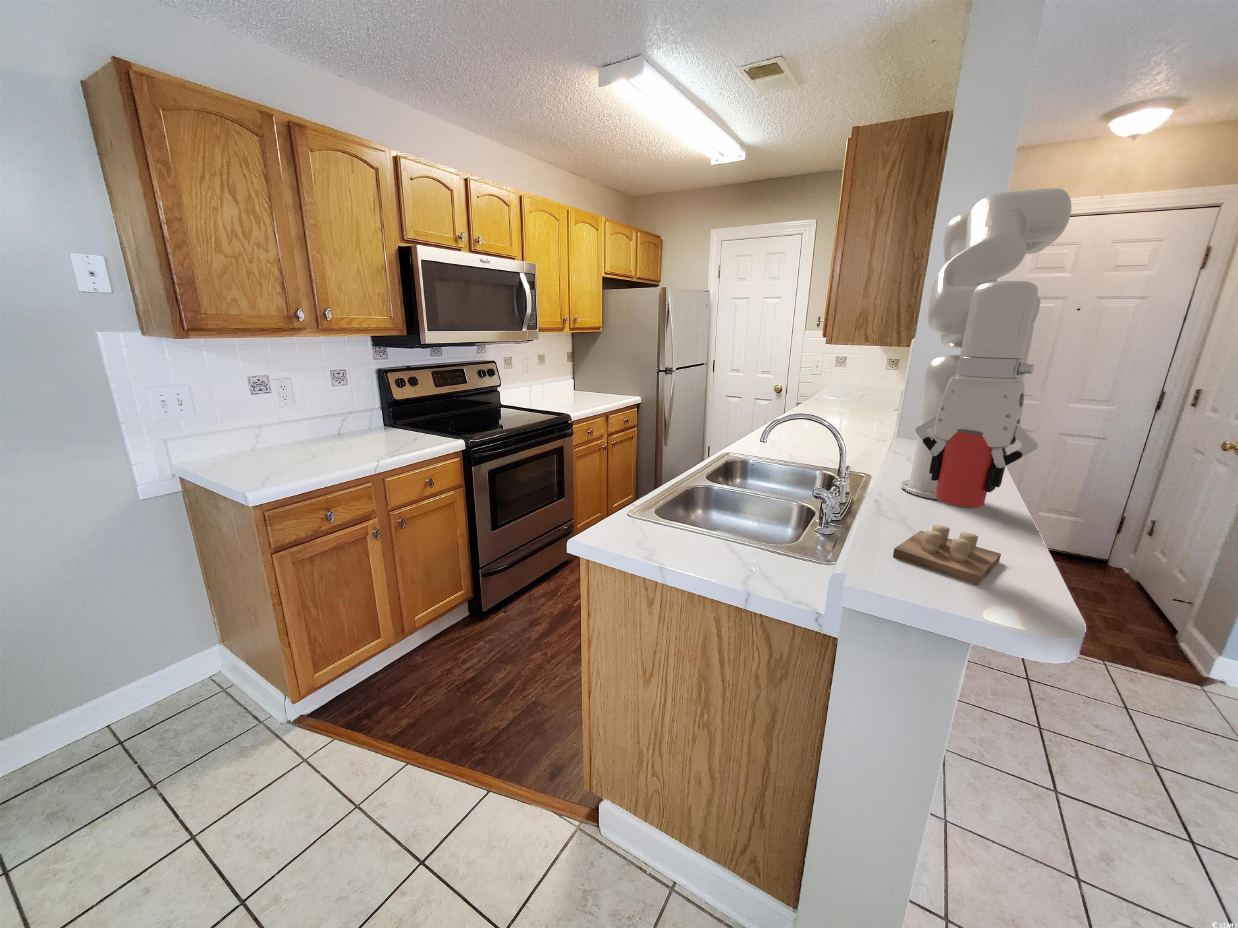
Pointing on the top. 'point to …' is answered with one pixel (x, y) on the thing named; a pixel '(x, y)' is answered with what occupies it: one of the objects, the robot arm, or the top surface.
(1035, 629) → the top surface
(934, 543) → the peg stand
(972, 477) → the beer can
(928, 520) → the top surface
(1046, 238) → the robot arm
